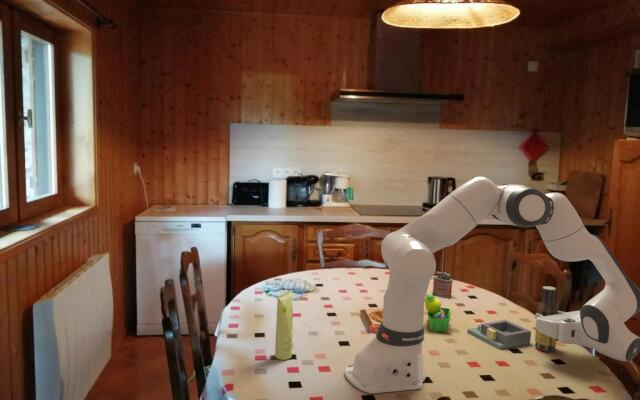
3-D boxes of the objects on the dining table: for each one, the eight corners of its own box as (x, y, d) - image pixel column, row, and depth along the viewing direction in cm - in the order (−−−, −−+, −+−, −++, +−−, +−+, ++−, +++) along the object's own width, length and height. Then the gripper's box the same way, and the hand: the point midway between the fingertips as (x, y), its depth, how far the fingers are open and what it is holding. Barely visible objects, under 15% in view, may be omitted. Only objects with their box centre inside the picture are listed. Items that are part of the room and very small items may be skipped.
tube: (293, 360, 155) (295, 295, 152) (276, 361, 153) (278, 296, 151) (290, 352, 160) (292, 289, 157) (273, 353, 159) (275, 290, 156)
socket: (502, 345, 168) (502, 336, 168) (477, 332, 178) (478, 324, 178) (530, 340, 174) (531, 331, 173) (505, 328, 183) (505, 319, 183)
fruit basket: (449, 333, 180) (452, 301, 178) (423, 331, 181) (425, 298, 180) (448, 322, 191) (450, 291, 189) (423, 319, 193) (425, 289, 191)
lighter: (452, 297, 220) (454, 273, 219) (449, 299, 217) (451, 275, 216) (433, 293, 224) (435, 270, 223) (431, 295, 221) (432, 271, 220)
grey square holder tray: (499, 349, 168) (500, 339, 168) (467, 332, 181) (468, 323, 181) (530, 343, 174) (530, 334, 173) (496, 327, 187) (497, 318, 187)
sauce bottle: (549, 344, 174) (556, 285, 171) (559, 352, 167) (565, 291, 165) (530, 344, 173) (536, 284, 171) (538, 352, 167) (545, 290, 165)
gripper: (608, 314, 162) (569, 300, 174) (560, 323, 153) (523, 308, 165) (605, 334, 162) (567, 319, 175) (558, 344, 153) (521, 327, 166)
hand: (545, 314), depth 170 cm, fingers closed on sauce bottle, 6 cm apart
